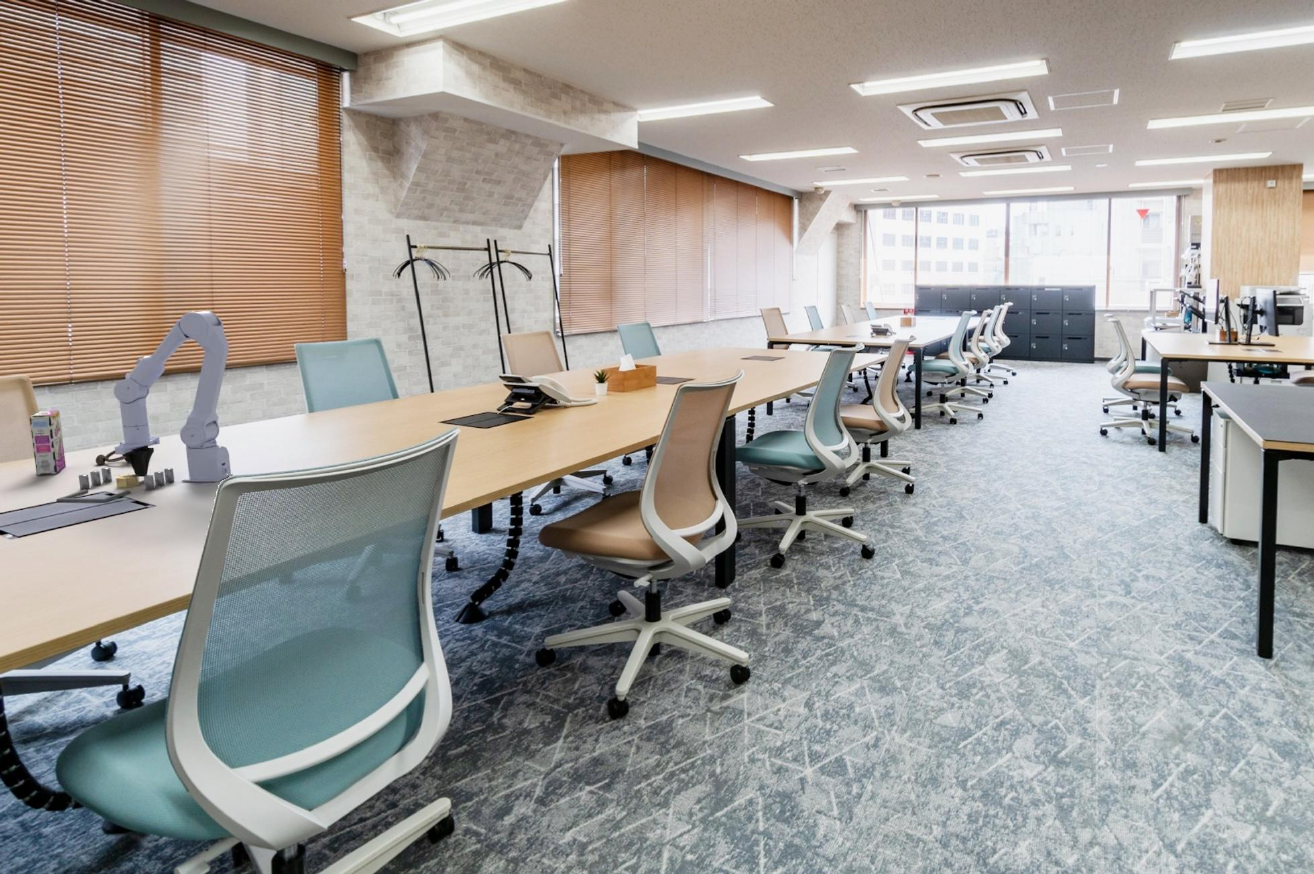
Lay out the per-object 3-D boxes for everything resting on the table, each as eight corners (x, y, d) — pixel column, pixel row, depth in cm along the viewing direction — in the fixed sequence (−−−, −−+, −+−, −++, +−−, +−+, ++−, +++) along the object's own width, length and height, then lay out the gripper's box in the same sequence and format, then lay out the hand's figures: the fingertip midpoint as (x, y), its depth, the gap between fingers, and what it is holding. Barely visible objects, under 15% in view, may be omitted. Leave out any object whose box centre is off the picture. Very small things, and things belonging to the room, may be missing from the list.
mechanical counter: (133, 448, 234) (152, 434, 243) (87, 444, 233) (108, 430, 243) (137, 471, 237) (156, 456, 246) (91, 467, 236) (111, 453, 245)
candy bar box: (58, 474, 225) (50, 415, 222) (36, 476, 223) (27, 416, 220) (67, 466, 235) (59, 409, 232) (46, 468, 233) (38, 410, 230)
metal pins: (176, 481, 217) (174, 468, 216) (151, 490, 207) (149, 476, 206) (106, 480, 218) (104, 467, 217) (78, 489, 208) (76, 476, 207)
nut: (139, 482, 216) (138, 473, 215) (137, 486, 211) (136, 477, 211) (119, 484, 214) (117, 475, 213) (116, 488, 209) (115, 479, 208)
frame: (130, 492, 205) (130, 490, 204) (105, 502, 196) (104, 499, 196) (84, 492, 205) (84, 489, 205) (56, 501, 196) (56, 499, 196)
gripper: (139, 420, 222) (145, 469, 225) (100, 429, 208) (107, 482, 210) (164, 420, 222) (170, 470, 224) (127, 430, 208) (134, 482, 210)
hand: (141, 476), depth 217 cm, fingers closed
